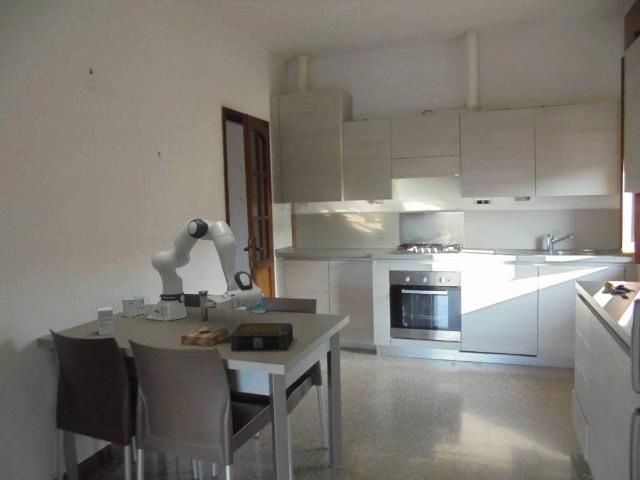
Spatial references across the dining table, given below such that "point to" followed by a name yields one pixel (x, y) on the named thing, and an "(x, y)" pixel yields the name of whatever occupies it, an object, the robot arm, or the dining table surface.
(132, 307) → the light bulb box
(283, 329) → the cash box
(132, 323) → the dining table surface
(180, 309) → the robot arm
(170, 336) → the dining table surface
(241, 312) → the dining table surface
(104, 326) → the supplement box
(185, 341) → the block
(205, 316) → the steel pin
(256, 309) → the pill bottle
